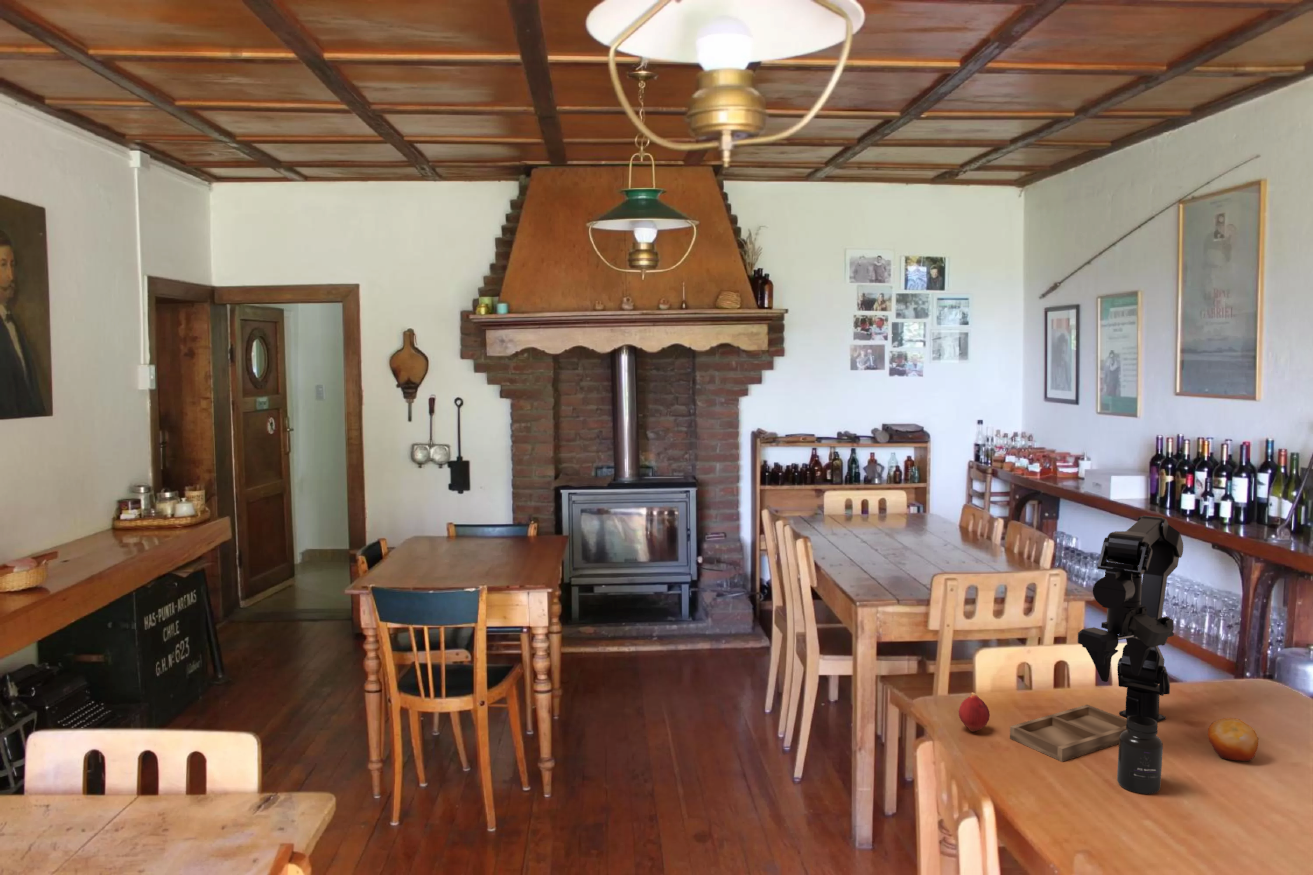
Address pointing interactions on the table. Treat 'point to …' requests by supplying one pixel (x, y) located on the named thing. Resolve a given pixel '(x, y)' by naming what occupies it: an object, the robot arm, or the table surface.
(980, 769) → the table surface
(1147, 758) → the supplement bottle
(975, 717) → the onion
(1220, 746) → the fruit
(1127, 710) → the robot arm
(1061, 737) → the holder
